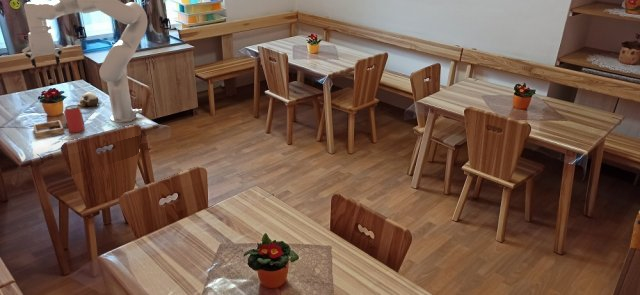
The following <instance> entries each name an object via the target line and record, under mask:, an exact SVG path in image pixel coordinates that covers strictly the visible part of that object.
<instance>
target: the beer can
mask: <svg viewBox="0 0 640 295" xmlns="http://www.w3.org/2000/svg"><path fill="white" fill-rule="evenodd" d="M77 105H78V104H71V105H67V106H65V107H64V110H65V114H64V117H65V116H66V118H65V121H66V120H67V123H66V125H67V129H69V132H72V133H77V132H81V131H83V130H84V126H85V125H83V121H84V120H83V121H82V117H81V112H82V111H81V112H80V110H81V108H80V109H79V108H78V106H77Z"/></svg>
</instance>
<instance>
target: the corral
mask: <svg viewBox="0 0 640 295" xmlns="http://www.w3.org/2000/svg"><path fill="white" fill-rule="evenodd" d="M32 126H33V129H34V134H35V136H36V138H37V139H38V138H39V139H40V138H45V137H50V136H55V135H59V134H65V129H64V127H63V125H62V122H61V120H60V119H58V120H54V121H53V120H52V121H47V122H42V123H41V122H40V123H37V124H36V123H35V124H32ZM54 127H59V128H54ZM49 128H52V129H49ZM53 128H54V129H53ZM41 129H46V130H43V131H42V130H41ZM38 130H41V131H38Z"/></svg>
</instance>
